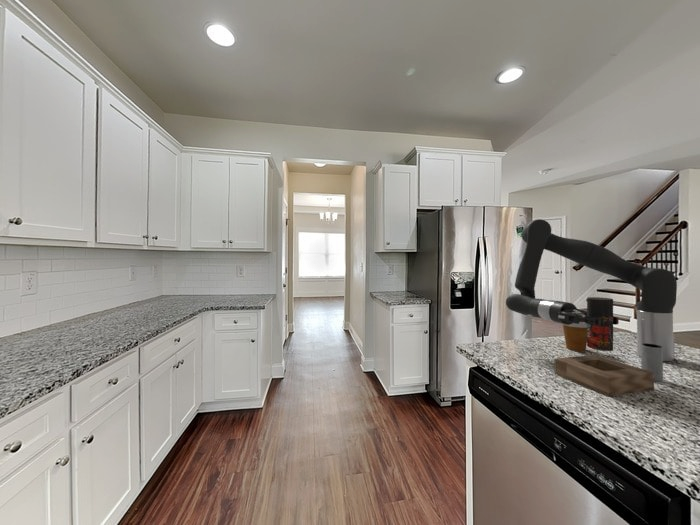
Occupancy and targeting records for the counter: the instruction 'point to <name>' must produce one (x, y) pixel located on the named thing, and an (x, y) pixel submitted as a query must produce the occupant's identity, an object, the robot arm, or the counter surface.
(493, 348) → the counter surface
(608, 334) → the deodorant
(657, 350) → the gray cylindrical tube
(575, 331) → the disposable coffee cup
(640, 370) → the socket block
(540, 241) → the robot arm
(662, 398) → the counter surface
